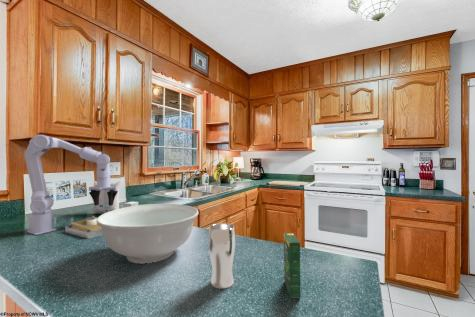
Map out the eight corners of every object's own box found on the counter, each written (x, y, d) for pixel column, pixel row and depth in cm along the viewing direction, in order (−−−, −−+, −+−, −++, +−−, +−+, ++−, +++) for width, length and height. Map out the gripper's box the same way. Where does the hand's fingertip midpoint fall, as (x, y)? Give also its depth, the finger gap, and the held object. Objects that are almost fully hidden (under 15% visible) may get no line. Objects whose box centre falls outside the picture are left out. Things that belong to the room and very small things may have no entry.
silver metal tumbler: (209, 276, 67) (209, 223, 67) (234, 275, 67) (233, 222, 67) (208, 290, 60) (208, 230, 60) (236, 289, 60) (235, 229, 60)
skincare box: (131, 229, 112) (130, 203, 112) (123, 228, 113) (122, 203, 113) (138, 225, 118) (138, 201, 118) (131, 225, 119) (131, 201, 119)
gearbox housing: (65, 232, 108) (65, 223, 108) (98, 224, 121) (98, 216, 121) (87, 238, 99) (87, 229, 99) (120, 229, 112) (120, 220, 112)
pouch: (112, 217, 135) (112, 182, 135) (88, 214, 142) (88, 181, 142) (124, 214, 142) (123, 180, 142) (100, 212, 149) (100, 180, 149)
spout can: (84, 231, 109) (84, 216, 109) (93, 229, 113) (93, 214, 113) (89, 232, 107) (89, 217, 107) (98, 230, 111) (98, 215, 111)
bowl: (174, 282, 64) (173, 227, 64) (70, 272, 70) (70, 222, 70) (209, 241, 96) (209, 204, 96) (136, 236, 102) (136, 202, 101)
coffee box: (283, 280, 64) (283, 232, 64) (294, 280, 64) (293, 232, 64) (288, 298, 56) (288, 242, 56) (301, 298, 56) (300, 242, 56)
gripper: (84, 178, 116) (84, 206, 116) (112, 178, 115) (112, 207, 115) (94, 177, 123) (94, 203, 123) (120, 177, 122) (121, 204, 122)
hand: (103, 205), depth 119 cm, fingers open, 7 cm apart
